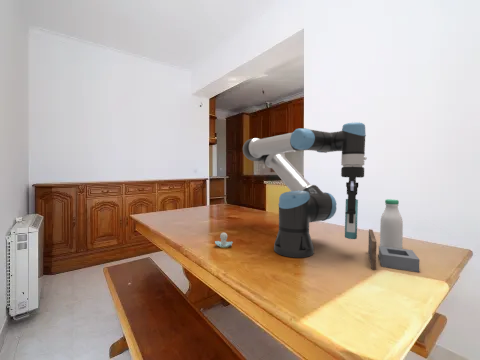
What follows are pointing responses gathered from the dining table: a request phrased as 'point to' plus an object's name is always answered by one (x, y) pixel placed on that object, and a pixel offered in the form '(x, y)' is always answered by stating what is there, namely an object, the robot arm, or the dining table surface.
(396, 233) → the milk bottle
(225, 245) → the pacifier
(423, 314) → the dining table surface
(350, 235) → the peg
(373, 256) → the wooden cutting board
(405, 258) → the socket block
